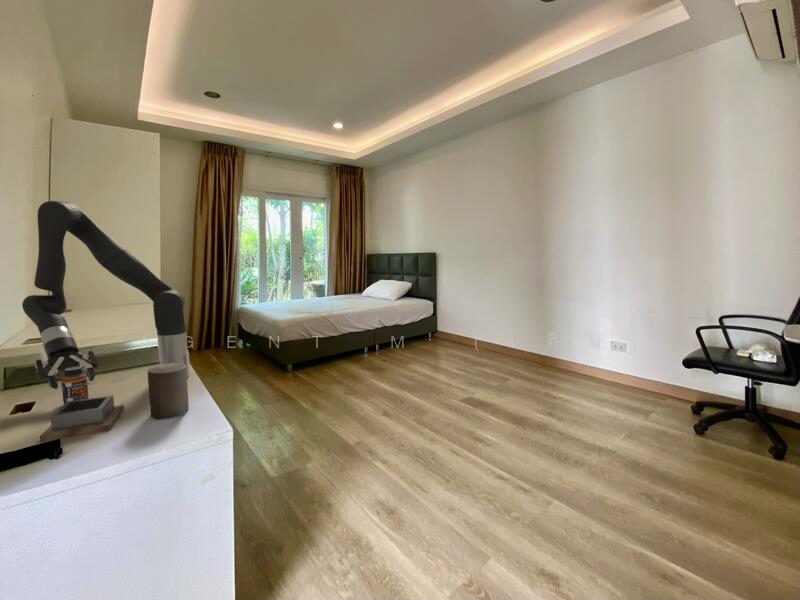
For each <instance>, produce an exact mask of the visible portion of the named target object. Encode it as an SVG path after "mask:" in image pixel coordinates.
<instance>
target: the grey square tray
mask: <svg viewBox="0 0 800 600" xmlns="http://www.w3.org/2000/svg"><path fill="white" fill-rule="evenodd" d="M114 406H115V401H114V395H106V396H100V397H99V396H98V397H91V398H89V399H83V400H76V401H68V402H66V403H65V404H64V403H63V404H62V406H60V407H59V408H58V409H57V410H56V411H54V413H52V414H51V415H50V426H52V431H57V430H64V429H70V428H76V427H82V426H89V425H95V424H101V423H104V422H105V420H106V419H107V418H108V416H109V415H110V414H111V412H112V411H113V410H114Z"/></svg>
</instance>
